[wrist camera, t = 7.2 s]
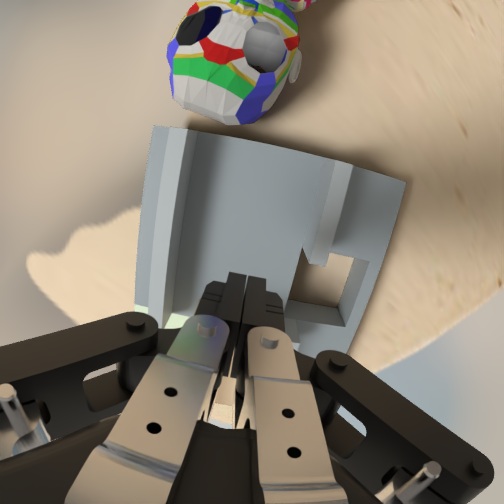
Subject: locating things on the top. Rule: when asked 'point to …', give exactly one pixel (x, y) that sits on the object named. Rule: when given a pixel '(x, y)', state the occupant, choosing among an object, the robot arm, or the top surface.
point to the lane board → (258, 228)
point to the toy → (234, 57)
